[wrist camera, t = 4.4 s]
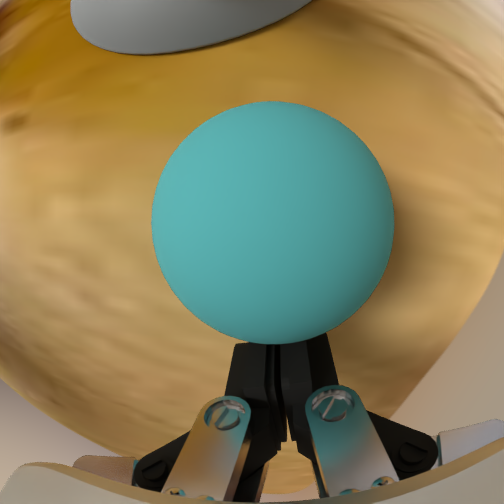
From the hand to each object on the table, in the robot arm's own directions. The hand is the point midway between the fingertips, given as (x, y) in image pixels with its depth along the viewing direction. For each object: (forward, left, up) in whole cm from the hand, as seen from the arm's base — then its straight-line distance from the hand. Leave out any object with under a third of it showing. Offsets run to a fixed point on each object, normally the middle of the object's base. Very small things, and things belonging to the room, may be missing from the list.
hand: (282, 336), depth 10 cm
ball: (0, +5, +1) cm, 5 cm away
